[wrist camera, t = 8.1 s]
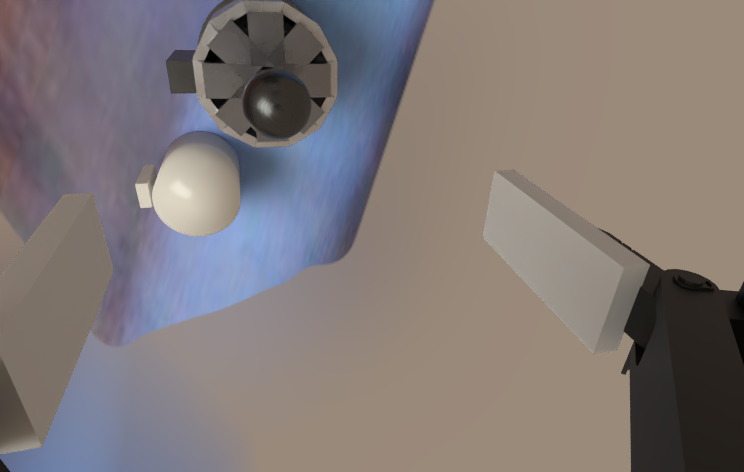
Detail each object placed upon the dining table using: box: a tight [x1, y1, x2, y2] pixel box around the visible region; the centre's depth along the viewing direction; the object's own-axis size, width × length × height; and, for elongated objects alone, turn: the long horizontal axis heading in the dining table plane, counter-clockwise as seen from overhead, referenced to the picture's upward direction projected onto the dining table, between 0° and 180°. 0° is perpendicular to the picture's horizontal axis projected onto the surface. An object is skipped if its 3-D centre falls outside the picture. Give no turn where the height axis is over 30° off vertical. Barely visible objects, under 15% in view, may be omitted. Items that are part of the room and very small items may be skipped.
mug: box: [135, 131, 240, 236], centre depth 46 cm, size 8×9×9 cm
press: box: [166, 0, 338, 147], centre depth 41 cm, size 12×14×12 cm
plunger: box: [216, 14, 311, 139], centre depth 37 cm, size 9×9×20 cm
